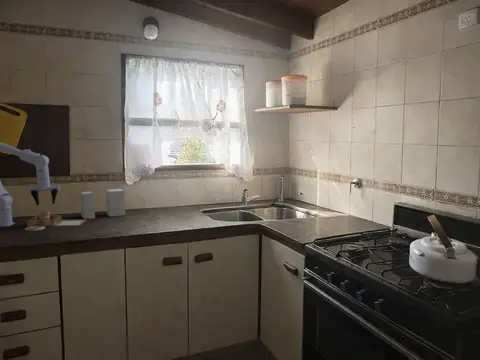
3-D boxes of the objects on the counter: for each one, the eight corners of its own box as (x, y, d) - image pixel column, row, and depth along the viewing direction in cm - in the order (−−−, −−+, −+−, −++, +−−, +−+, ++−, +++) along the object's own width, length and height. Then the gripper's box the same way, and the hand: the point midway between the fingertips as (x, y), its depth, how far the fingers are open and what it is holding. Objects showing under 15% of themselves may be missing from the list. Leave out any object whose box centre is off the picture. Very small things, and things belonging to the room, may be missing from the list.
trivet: (21, 232, 190) (21, 230, 189) (29, 227, 198) (29, 225, 198) (41, 231, 191) (41, 229, 191) (47, 227, 200) (47, 225, 200)
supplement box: (121, 212, 239) (121, 188, 237) (125, 215, 231) (124, 190, 229) (106, 214, 234) (105, 189, 232) (109, 216, 226) (108, 191, 225)
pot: (37, 224, 202) (36, 213, 202) (41, 222, 208) (40, 211, 207) (48, 224, 203) (48, 213, 202) (52, 222, 209) (52, 210, 208)
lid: (55, 227, 200) (54, 225, 200) (62, 221, 213) (62, 220, 213) (79, 226, 202) (79, 225, 202) (85, 221, 215) (85, 219, 214)
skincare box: (95, 218, 221) (94, 192, 219) (83, 219, 218) (82, 193, 216) (91, 216, 228) (90, 190, 226) (80, 217, 225) (79, 191, 223)
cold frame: (27, 227, 198) (26, 221, 198) (36, 222, 211) (36, 215, 211) (54, 227, 200) (53, 220, 200) (62, 221, 213) (61, 215, 212)
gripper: (25, 180, 197) (28, 206, 199) (56, 178, 200) (58, 204, 202) (29, 178, 204) (32, 204, 206) (59, 177, 207) (61, 202, 209)
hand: (45, 204), depth 204 cm, fingers open, 7 cm apart
